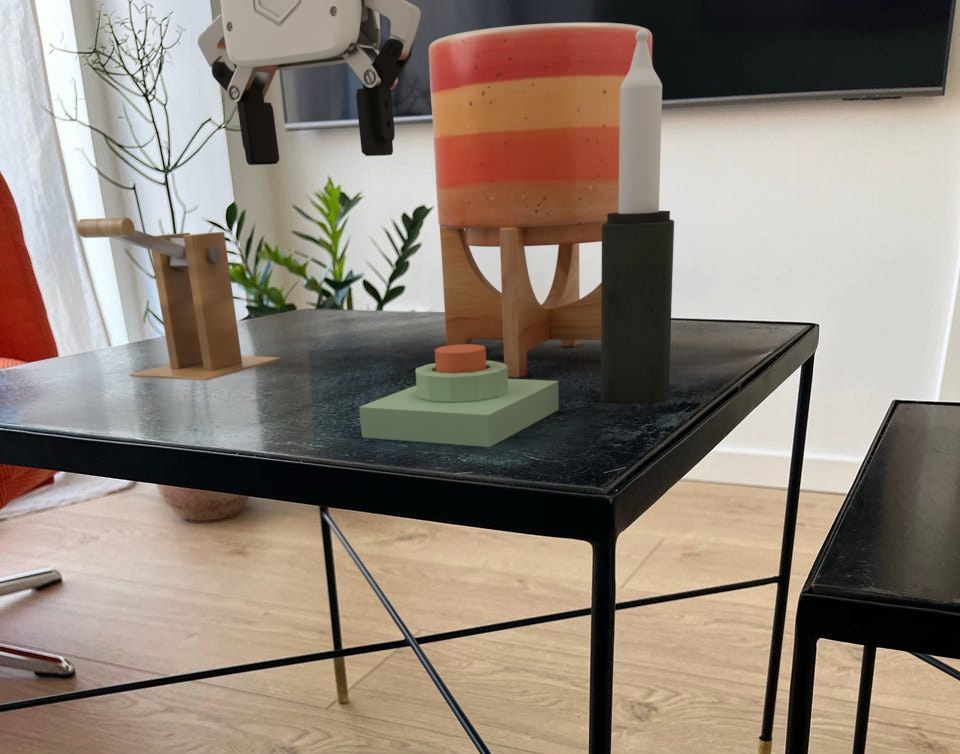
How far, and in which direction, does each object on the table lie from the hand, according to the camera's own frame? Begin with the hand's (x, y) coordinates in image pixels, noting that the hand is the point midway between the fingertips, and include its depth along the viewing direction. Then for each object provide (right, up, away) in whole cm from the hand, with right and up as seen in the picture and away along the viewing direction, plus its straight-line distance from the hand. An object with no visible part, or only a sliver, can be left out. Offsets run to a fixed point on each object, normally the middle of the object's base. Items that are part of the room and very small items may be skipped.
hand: (319, 159), depth 72 cm
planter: (+18, -7, +26) cm, 32 cm away
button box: (+10, -18, +2) cm, 21 cm away
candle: (+24, -15, +8) cm, 29 cm away
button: (+10, -15, +1) cm, 18 cm away
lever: (-17, -1, +16) cm, 24 cm away
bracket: (-15, -9, +25) cm, 30 cm away
